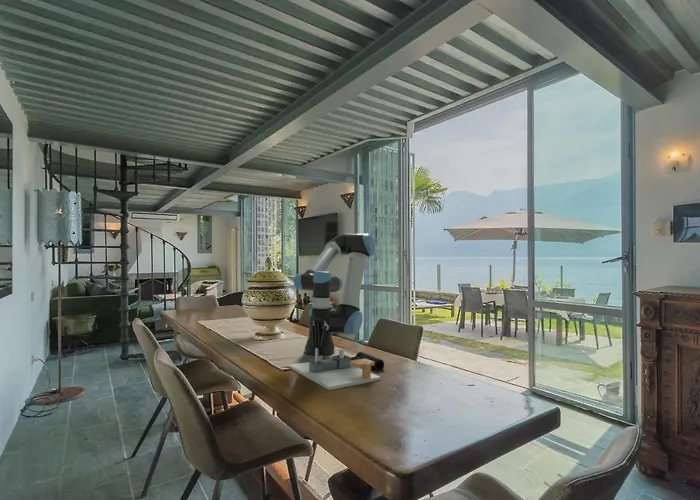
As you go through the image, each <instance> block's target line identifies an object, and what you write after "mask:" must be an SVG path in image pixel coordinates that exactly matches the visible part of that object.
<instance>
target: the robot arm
mask: <svg viewBox="0 0 700 500" xmlns="http://www.w3.org/2000/svg"><path fill="white" fill-rule="evenodd" d="M375 250H376V249H375V241H374V238H373V236H372V235H371V234H369V233H341V234H338V235H336V236H334V237H333V238H331V239H330V240H329V241H328V242H327V243H326V244H325V246H324V249H323V250H322V252H321V253H320V254H319V255H318V256H317V257H316V259H315V260H314V261H313V262H312V263H311V265H309V267H308V268H307V269H306V270H305V272H304V273H302V272H301V273H296V274H295V275H294V278H293V285H294V288H295V289H296V290H300V291H311V292H312V300H311V302H312V303H311V306H312V307H310V309H309V314H308V317H309V318H308V338H307V340H306V343H305V346H304V353H306V354H308V355H312V356H314V361H322V360H323V356H330V355H333V354H335V349H336V348H335V343H334V340H333V336H332V335H333V334H342V335H346V336H347V335H356V334H358V333H359V332H360V329H361V327H362V324H363V313H362V311H360V310H361V308H360V306H359V300H360V294H361V289H362V283H363V277H364V272H365V267H366V262H368V261H369V260H370V257H372V256H374V255H375ZM343 255H345V256H347V258H348V259H349V260H348V265H347V271H346V275H345V281H344V283H343V280H342V278H341V276H339V275H333V274H331V272H330V271H327V270H329V268H330V267H331V265H332V264H333V262H334V261H335V260H336V259H338V258H340V257H341V256H343ZM343 284H344V286H343ZM342 288H343V290H342V296H341V299H340V302H339V303H338V304H336V308H334V306H333V305H331V293H336V292H339V291H340V290H341V289H342Z"/></svg>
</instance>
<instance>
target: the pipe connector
mask: <svg viewBox="0 0 700 500" xmlns="http://www.w3.org/2000/svg"><path fill="white" fill-rule="evenodd" d="M365 358H366V359H368V360H371V361H374V362H375V365H374V366H371V370H374V371H377V372H379V371H383V370H384V368H385V362H384V360H382V359H381V358H377V357H375V356H373V355H371V354H369V353H368V354H367V353H365V352H362V351H359V352H357V353H356V354H355V356H352V357H351V361H352V360H358V359H365Z"/></svg>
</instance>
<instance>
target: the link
mask: <svg viewBox="0 0 700 500" xmlns="http://www.w3.org/2000/svg"><path fill="white" fill-rule="evenodd" d="M328 359H329V360H327V359H322V361H315V360H314V361H315V362H313V361H309V370H311V371H313V372H319V371H325V370H331V369H337V368H338V369H342V368H348V367H351V365H350V364H349V362H350V361H351V357H350V356H348V355H346V354H344V358H339V354H337V355H332V356H331V358H328Z"/></svg>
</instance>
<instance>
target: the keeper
mask: <svg viewBox="0 0 700 500" xmlns="http://www.w3.org/2000/svg"><path fill="white" fill-rule="evenodd" d="M349 364H350V365H352V366H354V367H357V368H360V369H362V378H364V379H371V373H372V368H371V366H374V365H375V362H374V361H371V360H368V359H366V358H365V359H358V360H352V361H350V362H349Z"/></svg>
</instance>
